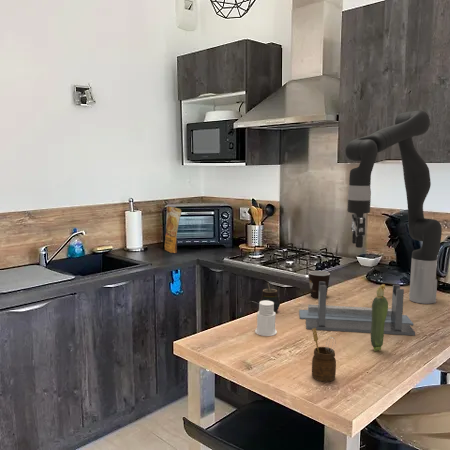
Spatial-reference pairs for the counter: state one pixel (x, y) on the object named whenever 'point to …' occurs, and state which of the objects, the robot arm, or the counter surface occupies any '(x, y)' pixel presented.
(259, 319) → the downlight
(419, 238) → the robot arm
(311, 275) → the coffee mug
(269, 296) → the mate gourd
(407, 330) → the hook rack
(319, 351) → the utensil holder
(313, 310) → the steel rail
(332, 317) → the blue-gray flat board
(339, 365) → the counter surface
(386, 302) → the vegetable
